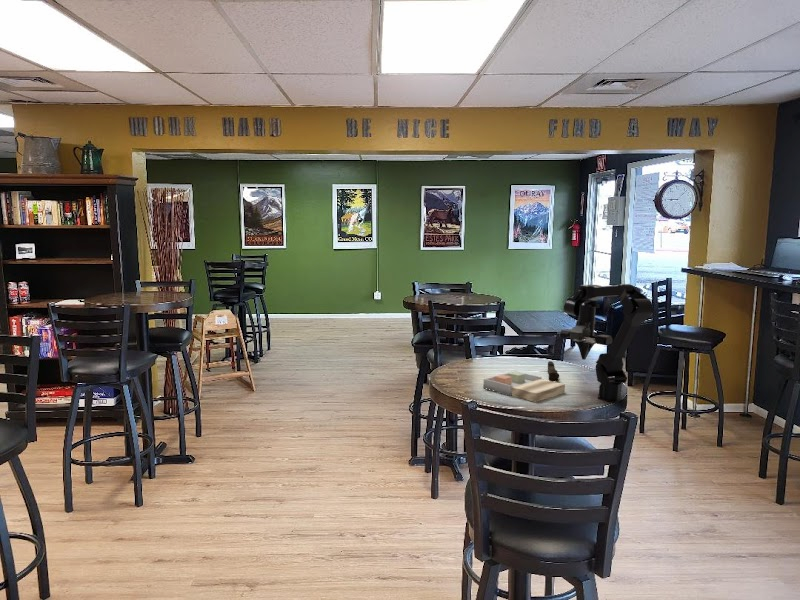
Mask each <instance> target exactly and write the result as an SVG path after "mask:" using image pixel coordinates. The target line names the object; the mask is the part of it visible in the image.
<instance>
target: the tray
mask: <svg viewBox="0 0 800 600" xmlns="http://www.w3.org/2000/svg"><path fill="white" fill-rule="evenodd" d="M515 371H516V372H518V371H517V370H514V371H510V372H507V373H502V374H500V375H506V376H508V373H511V372H515ZM519 372H520V371H519ZM520 373H522V372H520ZM523 373H524V372H523ZM524 374H525V382H521V383H514V382H512V384H511V385H507V384H503V383H499V382H495V376H496V375H494V376H490V377H486V378H484V379H483V386H482V388H483V389H484V388H487V389H486V390H488V389H490V390H489V391H491V390H494V391H493V392H495V391H497V392H496V393H499V392H500V393H499V394H502V393H503V394H504V395H506V394H507V396H509V397H511V395H512V387H515V386H518V385H521V384H525V383H528V382H532V381H535V380H539V379H543V378H542V376H538V375H533V374H529V373H524Z"/></svg>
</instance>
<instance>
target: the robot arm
mask: <svg viewBox="0 0 800 600" xmlns="http://www.w3.org/2000/svg"><path fill="white" fill-rule="evenodd" d="M617 296H618V297H619V303H620V305H621V306H622V308H623V311H622V315H623V321H622V323H621V325H620V328H619V329H618V331H617V334H616V335H615V337H614V339H613V337H612V335H607V334H599V335H596V332H595V325H596V324H597V321H596V320H595V319H596V308H597V309H598V308H600V307H601V306H600V304H599V303H598V302H597V300H600V299H602V298H605V297H617ZM563 311H564V313H565V314H567V315H571V316H573V317H574V316H575V317H578V320H576V321H575V325H574V326H573V327H572V328H571V329H569V328H566V329H561V330H560V331H559V336H558V337H559V338H562V339H567V338H569V337H570V340H572V342H573V343H575V344H576V345H577V348H578V350H579V353H580V357H581V360H586V358H587V357H588V356H589V354H590V352H591V349H593V346H595V344H596V345H602V346H607V345H611V346H610V348H609V350H608V351H607V352H605V353H600V354H599V355H598V358H597V360H596V361H595V363H596V364H595V373H596V379H597V382H598V383H600V384H599V385H598V387H599V389H598V396H597V399H598V400H602V401H607V402H611V403H613V404H614V403H615V404H616V403H618V402H620V401H623V400H624V399H623V397H622V388H623V384H626V383H627V380H628V376H627V375H626V373H625V372H624V369H623V368H624V360H623V358H624V355H625V353H626V352H627V350H628V347H629V346H630V344H631V342H632V340H633V338H634V336H635V334H636V332H637V330H638V328H639V327H640V325H641V324H643V323H644V322H646V321H648V319H649V317H650V316H651V315H652V313H653V311H654V306H653V303H652V301H651V299H649V298H648V297H647V296H646V295H645V294H643V293H642V292H640V291H639V290H638V289H636V287H635V286H634V285H633V284H630V283H624V284H623V283H620V284H617V285H616V284H615V285H604V286H602V285H598V284H581V285H579V286H578V289H577V291H576V292H575V294H574V295H573V296H571V297H568V300H566V301H565V303H564V305H563Z"/></svg>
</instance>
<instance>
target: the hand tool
mask: <svg viewBox="0 0 800 600" xmlns="http://www.w3.org/2000/svg"><path fill="white" fill-rule="evenodd" d="M547 374H548V381H556V382H558V381H559V378H560V374H559V373H558V370H556V367H555V363H554V362H553V361H551V360H550V361H547Z"/></svg>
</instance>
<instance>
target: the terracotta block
mask: <svg viewBox="0 0 800 600" xmlns="http://www.w3.org/2000/svg"><path fill="white" fill-rule="evenodd" d="M494 376H495V382H499V383H503V384H507V385H511V384H512V377H510V376H506V375H501V374H497V375H494Z"/></svg>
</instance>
